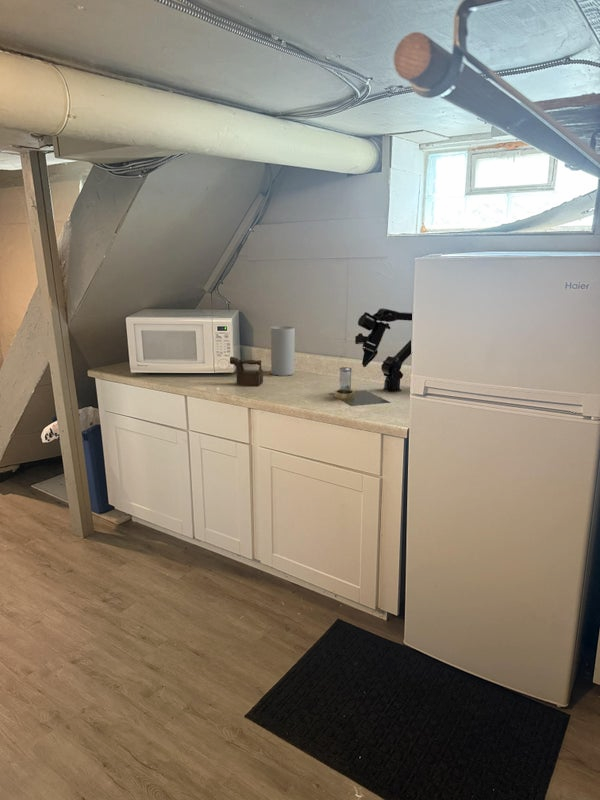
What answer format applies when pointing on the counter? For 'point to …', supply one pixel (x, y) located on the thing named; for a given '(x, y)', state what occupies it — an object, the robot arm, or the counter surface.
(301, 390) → the counter surface
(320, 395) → the counter surface
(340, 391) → the grey cylindrical piece
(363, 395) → the base
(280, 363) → the cylinder vase
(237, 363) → the clothes iron
